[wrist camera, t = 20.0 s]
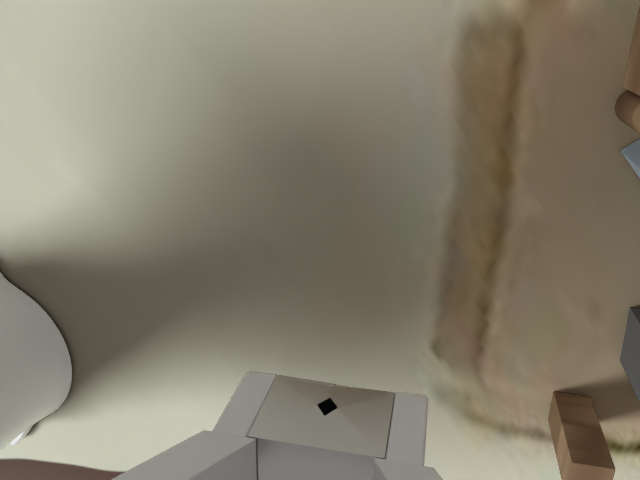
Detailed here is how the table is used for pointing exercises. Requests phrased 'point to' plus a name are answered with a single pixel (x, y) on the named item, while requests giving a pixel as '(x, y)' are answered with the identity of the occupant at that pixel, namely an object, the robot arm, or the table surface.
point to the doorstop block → (632, 350)
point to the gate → (633, 156)
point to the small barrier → (578, 411)
